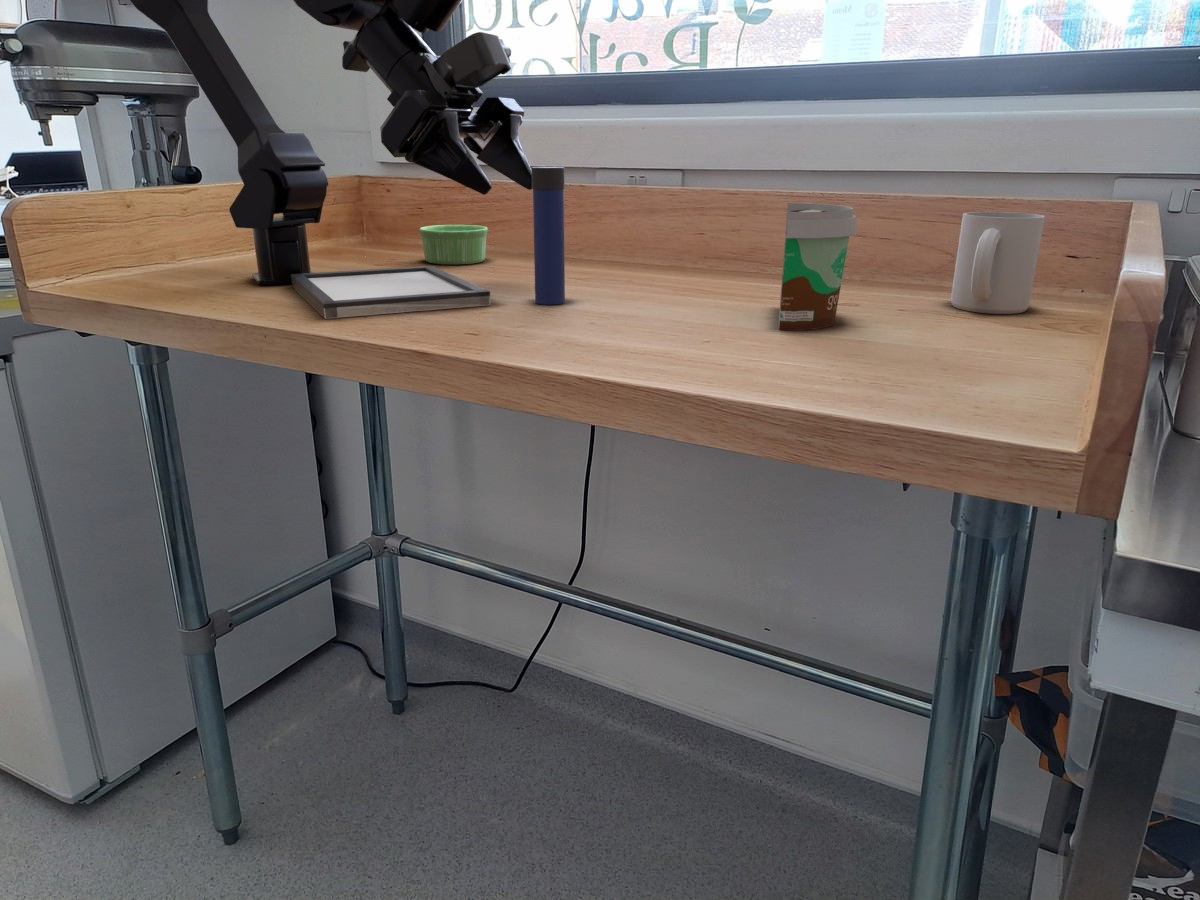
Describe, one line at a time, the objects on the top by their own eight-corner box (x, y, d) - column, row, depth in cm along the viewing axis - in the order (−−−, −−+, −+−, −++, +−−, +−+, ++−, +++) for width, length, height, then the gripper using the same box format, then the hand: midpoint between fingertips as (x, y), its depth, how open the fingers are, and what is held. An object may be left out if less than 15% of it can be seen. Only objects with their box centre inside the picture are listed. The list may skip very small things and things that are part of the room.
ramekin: (412, 264, 112) (409, 230, 110) (433, 256, 120) (432, 224, 119) (478, 266, 111) (477, 231, 109) (496, 257, 119) (494, 225, 118)
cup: (1035, 306, 86) (1051, 214, 83) (1013, 322, 78) (1031, 221, 75) (960, 298, 90) (973, 210, 87) (933, 313, 82) (946, 217, 79)
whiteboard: (292, 286, 95) (290, 274, 94) (432, 277, 102) (431, 265, 101) (325, 318, 78) (323, 303, 77) (490, 305, 85) (490, 291, 84)
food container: (853, 336, 72) (866, 213, 69) (778, 333, 73) (788, 212, 70) (843, 309, 83) (854, 203, 80) (779, 307, 85) (787, 202, 81)
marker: (529, 300, 87) (526, 167, 83) (557, 298, 89) (556, 166, 84) (541, 306, 84) (539, 168, 80) (571, 303, 86) (570, 167, 81)
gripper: (397, -13, 72) (516, 125, 72) (504, 15, 89) (602, 128, 88) (332, 89, 78) (442, 218, 78) (444, 98, 94) (536, 205, 94)
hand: (512, 188), depth 84 cm, fingers open, 9 cm apart
